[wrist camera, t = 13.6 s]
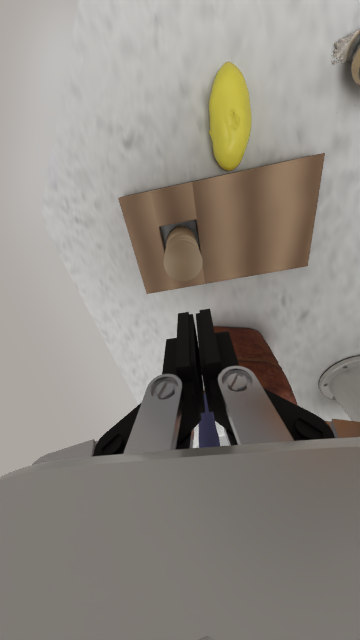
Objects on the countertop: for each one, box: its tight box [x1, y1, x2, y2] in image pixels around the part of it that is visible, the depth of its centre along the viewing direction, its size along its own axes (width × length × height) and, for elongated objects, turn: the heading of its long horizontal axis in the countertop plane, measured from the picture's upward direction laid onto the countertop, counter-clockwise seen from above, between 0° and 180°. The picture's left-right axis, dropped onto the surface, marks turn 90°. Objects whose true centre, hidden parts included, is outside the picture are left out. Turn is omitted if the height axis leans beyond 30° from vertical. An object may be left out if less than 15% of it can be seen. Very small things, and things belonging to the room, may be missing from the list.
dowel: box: [164, 225, 203, 281], centre depth 24 cm, size 4×4×11 cm
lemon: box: [209, 62, 251, 171], centre depth 21 cm, size 4×8×4 cm, turn 6°
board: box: [118, 153, 325, 294], centre depth 27 cm, size 22×12×3 cm, turn 100°
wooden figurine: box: [214, 327, 297, 405], centre depth 31 cm, size 12×6×18 cm, turn 85°
